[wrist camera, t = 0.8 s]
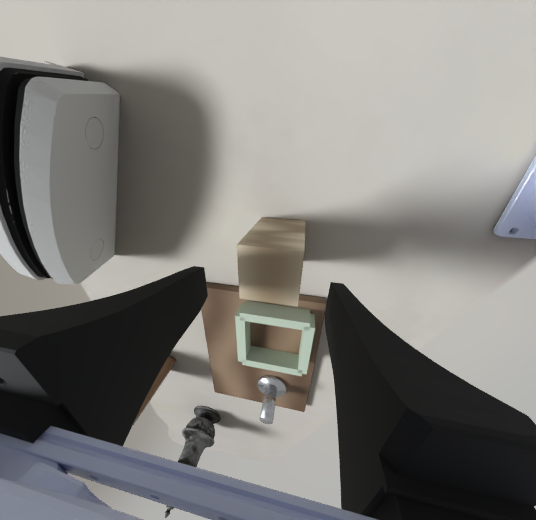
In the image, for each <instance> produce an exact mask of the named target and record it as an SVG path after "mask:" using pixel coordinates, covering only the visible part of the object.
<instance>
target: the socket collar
mask: <svg viewBox="0 0 536 520" xmlns="http://www.w3.org/2000/svg"><path fill="white" fill-rule="evenodd" d="M235 322H236V338H237V353H238V361H239V362H242V365H246V366H251V367H256V368H261V369H266V370H271V371H277V372H282V373H287V374H292V375H297V376H302V374H307V370H308V364H309V359H310V353H311V348H312V343H313V337H314V332H315V315H314V314H311V313H310V310H309V309H302V308H295V307H288V306H281V305H274V304H267V303H260V302H253V301H246V300H245V302H244V304H241V305H240V307H239V309H238V311H237V313H236V315H235ZM250 322H254V323H260V324H266V325H273V326H279V327H285V328H292V329H298V330H302V335H301V342H300V349H299V354H294V353H289V352H283V351H277V350H272V349H266V348H260V347H255V346H251V341H250Z"/></svg>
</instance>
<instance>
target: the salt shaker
mask: <svg viewBox="0 0 536 520" xmlns="http://www.w3.org/2000/svg"><path fill="white" fill-rule="evenodd" d="M194 413H195V415H196V418H194V419H192V420H191V421H190V422H189V423H188V425H187V426H186V428H184V429H183V430H182V435H183V436H184V438H185V439H186V442H185V446H184V449H183V451H182V453H181V456H180V458H179V460H178V462H179V463H182V464H186V465H189V466H193V467H197V464H198V461H199V458H200V456H201V454H202V452H203V450H204V449H205V448H206V447H211V446H213V444H214V436H215V428H214V425H213V424H215V423H217V422H219V421H220V419H221V417H220V415H219V414H218V413H217V412H216V411H215V410H213V409H211V408H209V407H205V406H197V407H195V409H194ZM173 508H174V507H171V506H168V505H167V511H166V512H165V513H166V514H165V518H166V517H167V516H168V515H169V514H170V510H171V509H173Z"/></svg>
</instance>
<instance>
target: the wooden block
mask: <svg viewBox="0 0 536 520" xmlns="http://www.w3.org/2000/svg"><path fill="white" fill-rule="evenodd" d="M174 364H175V359H174V358H172V357H170V356H168V358H167V360H166V361H165V363H164V365H163V367H162V368H161V370H160V372H159V374H158V376H157V377H156V379H155V381H154V383H153V385H152V387H151V389H150V390H149V392H148V394H147V396H146V398H145V400H144V402H143V404H142V406H141V408H140V410H139V412H138V414H137V416H136V419H135V421H134V423H135V422H136V420H137V419H138V417H139V416H140V414H141V413H142V411H143V410H144V408H145V407H146V405H147V404H148V403H149V401H150V400H151V398H152V397H153V395H154V394H155V392H156V391H157V389H158V388H159V386H160V385H161V383H162V382H163V380H164V379H165V377H166V376H167V374H168V373H169V371H170V370H171V368H172V367H173V365H174ZM134 423H133V425H134Z"/></svg>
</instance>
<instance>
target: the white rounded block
mask: <svg viewBox="0 0 536 520" xmlns="http://www.w3.org/2000/svg"><path fill="white" fill-rule="evenodd" d="M119 108H120V94H119V93H118V92H117V91H115V90H114V89H113V88H111V87H110V86H108V85H107V84H105V83H103V82H93V81H88V80H87V79H85V78H84V73H83V72H80V71H77V70H73V69H70V68H67V67H63V66H60V65H57V64H54V63H50V62H47V61H44V63H37V62H31V61H24V60H18V59H11V58H5V57H0V254H1V255H2V256H3V257H4V258H5V260H6V261H7V262H8V263H9V264H10V265H11V266H12V267H13V268H14V269H15V270H16V271H17V272H18V273H20V274H22V275H26V276H28V277H31V278H34V279H37V280H43V279H46V278H52V279H53V280H54V281H55V282H56V283H58V284H79V283H81V282H82V281H83V280H84V279H86V278H87V277H88V276H89V275H91V274H92V273H93V272H94V271H96V270H97V269H98V268H99V267H101V266H102V265H103V264H104V263H105V262H107V261H108V260H109V259H110V258H112V257H113V256H114V255H115V233H116V202H117V171H118V139H119Z"/></svg>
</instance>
